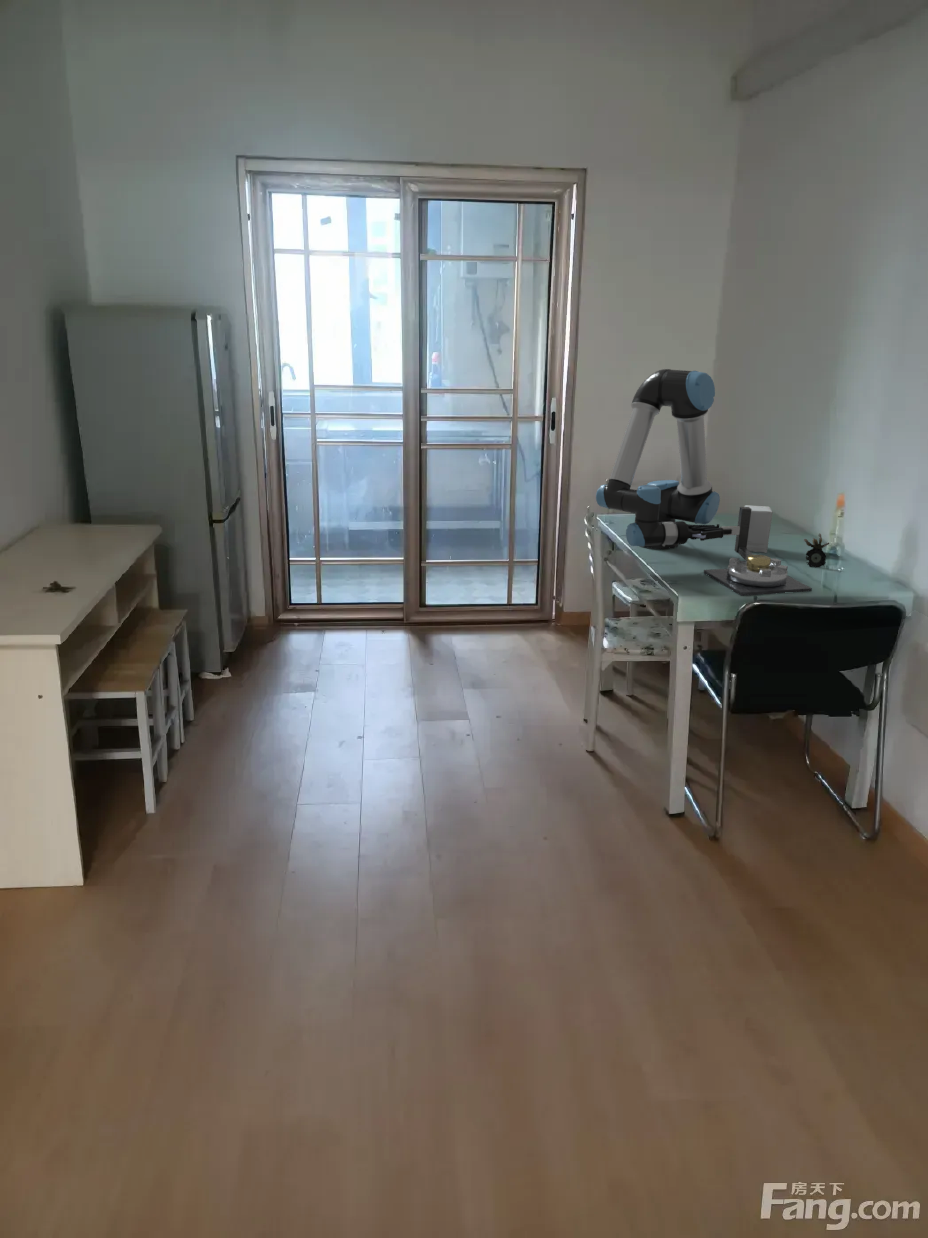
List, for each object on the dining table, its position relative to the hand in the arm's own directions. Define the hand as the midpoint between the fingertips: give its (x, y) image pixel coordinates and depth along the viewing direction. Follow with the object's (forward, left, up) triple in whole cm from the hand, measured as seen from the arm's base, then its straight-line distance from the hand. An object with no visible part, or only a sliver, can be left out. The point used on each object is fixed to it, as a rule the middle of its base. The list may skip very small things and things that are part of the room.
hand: (738, 530), depth 295 cm
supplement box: (-17, +17, -12) cm, 27 cm away
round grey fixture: (+13, -1, -11) cm, 17 cm away
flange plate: (+19, -3, -12) cm, 22 cm away
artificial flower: (-2, +32, -13) cm, 34 cm away
